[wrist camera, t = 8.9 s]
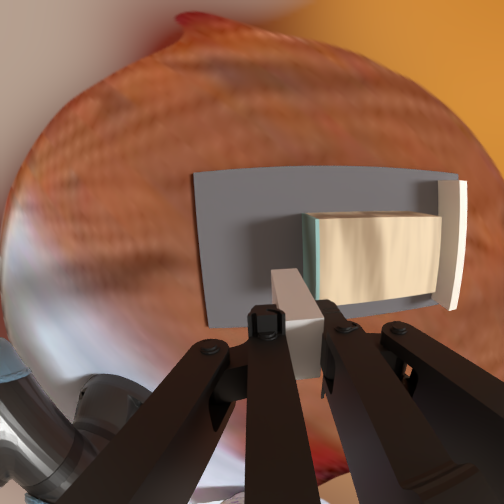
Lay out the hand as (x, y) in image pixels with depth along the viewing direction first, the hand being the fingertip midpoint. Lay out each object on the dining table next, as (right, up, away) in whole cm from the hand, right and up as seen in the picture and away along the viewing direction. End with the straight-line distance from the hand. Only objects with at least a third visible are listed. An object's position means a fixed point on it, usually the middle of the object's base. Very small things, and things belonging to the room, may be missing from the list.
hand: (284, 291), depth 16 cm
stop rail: (+20, +4, +10) cm, 23 cm away
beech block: (+3, +2, +8) cm, 8 cm away
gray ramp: (+8, +3, +11) cm, 14 cm away
